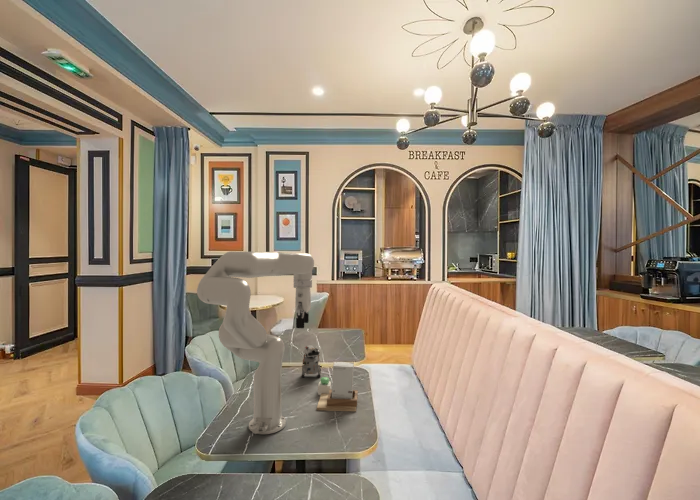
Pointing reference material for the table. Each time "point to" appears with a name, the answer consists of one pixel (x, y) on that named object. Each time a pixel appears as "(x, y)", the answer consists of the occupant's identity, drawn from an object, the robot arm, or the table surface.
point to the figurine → (311, 361)
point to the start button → (324, 380)
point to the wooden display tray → (337, 402)
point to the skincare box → (342, 380)
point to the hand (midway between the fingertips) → (302, 325)
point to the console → (324, 388)
